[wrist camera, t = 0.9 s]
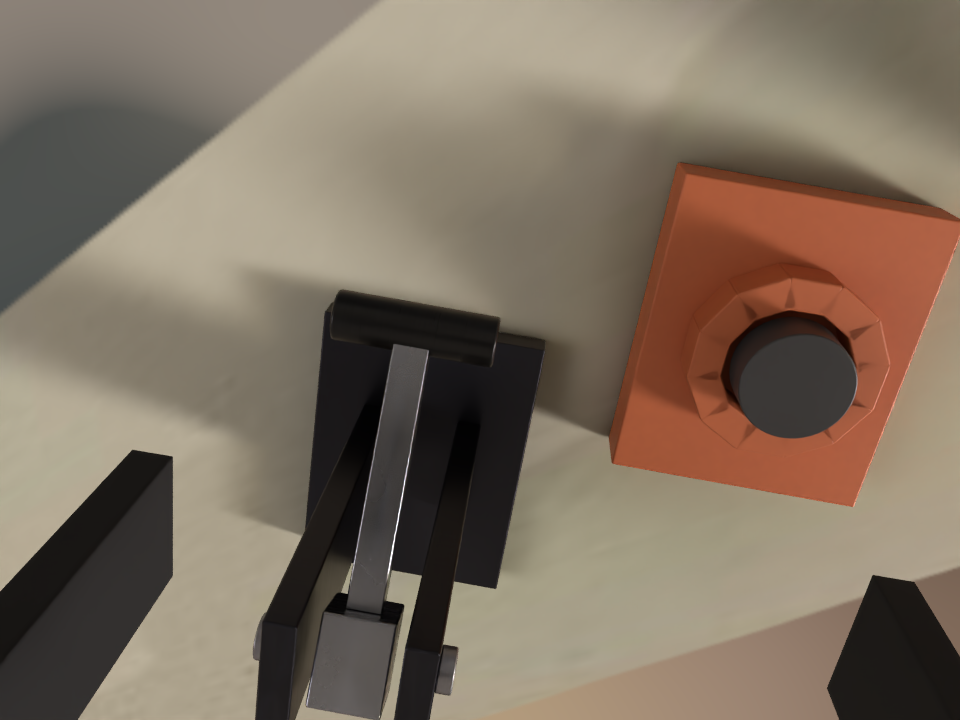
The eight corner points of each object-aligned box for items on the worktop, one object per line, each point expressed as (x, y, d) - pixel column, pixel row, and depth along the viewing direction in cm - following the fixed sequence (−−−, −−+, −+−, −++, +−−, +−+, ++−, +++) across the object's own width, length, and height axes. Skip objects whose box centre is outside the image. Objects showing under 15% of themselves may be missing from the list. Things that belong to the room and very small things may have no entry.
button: (746, 306, 30) (756, 324, 29) (858, 326, 30) (874, 345, 29) (716, 406, 32) (724, 428, 30) (822, 425, 32) (836, 448, 30)
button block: (677, 161, 32) (692, 183, 28) (941, 207, 32) (991, 235, 28) (608, 438, 37) (613, 487, 33) (837, 480, 37) (868, 533, 33)
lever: (346, 293, 27) (333, 284, 25) (500, 320, 27) (501, 314, 25) (277, 671, 27) (257, 699, 25) (432, 699, 27) (427, 730, 25)
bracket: (331, 301, 35) (192, 491, 22) (545, 339, 35) (538, 554, 22) (309, 538, 40) (184, 815, 27) (497, 573, 40) (468, 868, 27)
